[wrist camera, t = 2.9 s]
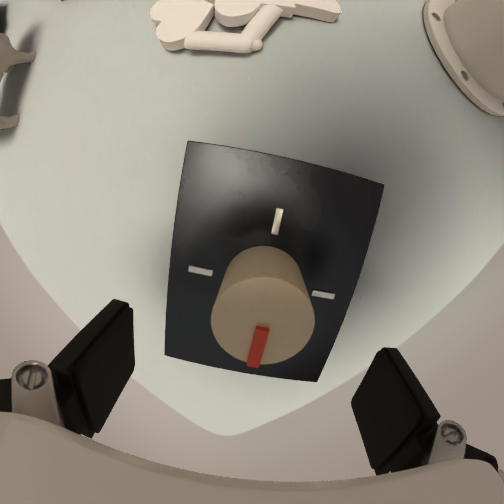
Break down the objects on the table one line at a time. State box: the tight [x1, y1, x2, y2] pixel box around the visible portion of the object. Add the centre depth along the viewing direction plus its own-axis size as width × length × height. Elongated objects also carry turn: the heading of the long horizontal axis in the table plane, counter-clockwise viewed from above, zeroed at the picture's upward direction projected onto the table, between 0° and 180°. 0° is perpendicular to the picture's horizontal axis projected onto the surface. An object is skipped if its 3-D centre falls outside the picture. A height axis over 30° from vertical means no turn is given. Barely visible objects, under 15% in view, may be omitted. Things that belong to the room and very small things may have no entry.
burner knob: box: [211, 246, 315, 368], centre depth 13 cm, size 4×4×5 cm
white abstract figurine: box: [150, 0, 342, 53], centre depth 12 cm, size 9×12×2 cm
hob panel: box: [165, 141, 384, 382], centre depth 17 cm, size 14×11×3 cm
